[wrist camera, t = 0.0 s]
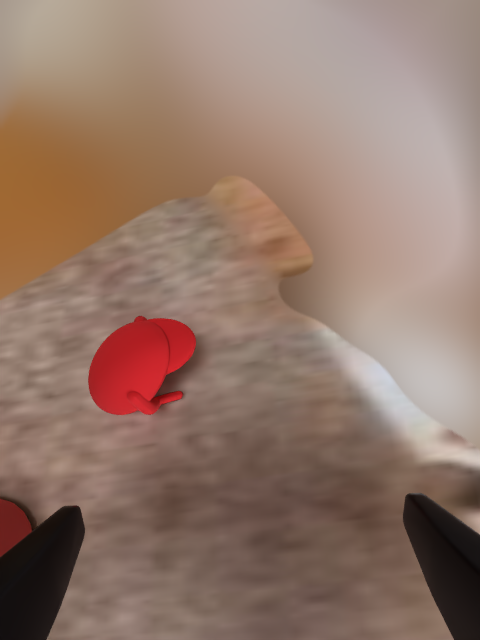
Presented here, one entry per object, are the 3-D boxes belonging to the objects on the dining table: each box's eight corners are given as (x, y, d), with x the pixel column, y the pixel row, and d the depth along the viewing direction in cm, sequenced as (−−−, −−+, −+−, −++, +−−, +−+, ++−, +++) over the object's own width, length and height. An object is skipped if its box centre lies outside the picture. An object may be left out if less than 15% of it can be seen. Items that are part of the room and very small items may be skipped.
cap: (137, 438, 23) (101, 446, 18) (91, 377, 25) (45, 366, 19) (219, 366, 25) (211, 351, 19) (172, 312, 26) (151, 283, 20)
